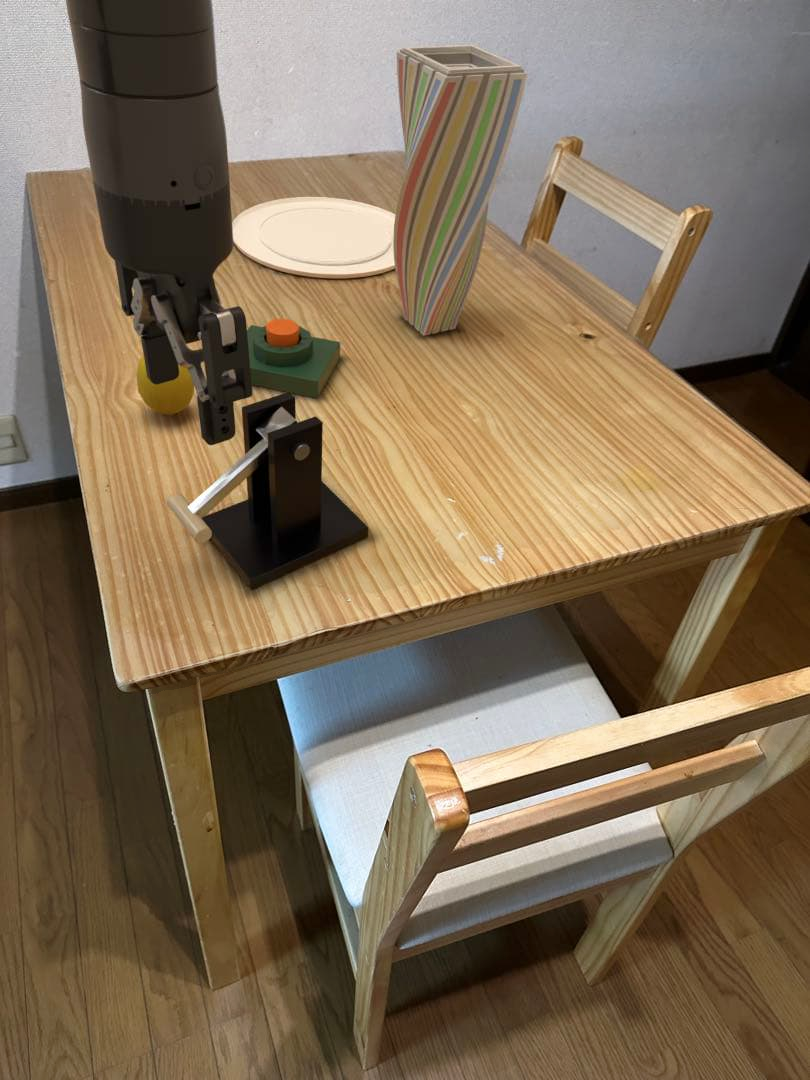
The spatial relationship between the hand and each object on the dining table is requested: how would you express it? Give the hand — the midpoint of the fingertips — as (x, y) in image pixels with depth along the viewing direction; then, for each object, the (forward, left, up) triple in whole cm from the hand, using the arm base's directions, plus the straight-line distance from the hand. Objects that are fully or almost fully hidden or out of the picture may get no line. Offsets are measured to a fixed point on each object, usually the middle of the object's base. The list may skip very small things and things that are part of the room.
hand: (190, 408), depth 55 cm
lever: (+3, +3, -8) cm, 9 cm away
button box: (-4, +32, -16) cm, 35 cm away
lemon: (-12, +19, -16) cm, 28 cm away
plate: (-10, +69, -16) cm, 71 cm away
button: (-4, +32, -12) cm, 34 cm away
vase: (+10, +49, -16) cm, 52 cm away
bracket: (+5, +6, -16) cm, 17 cm away
